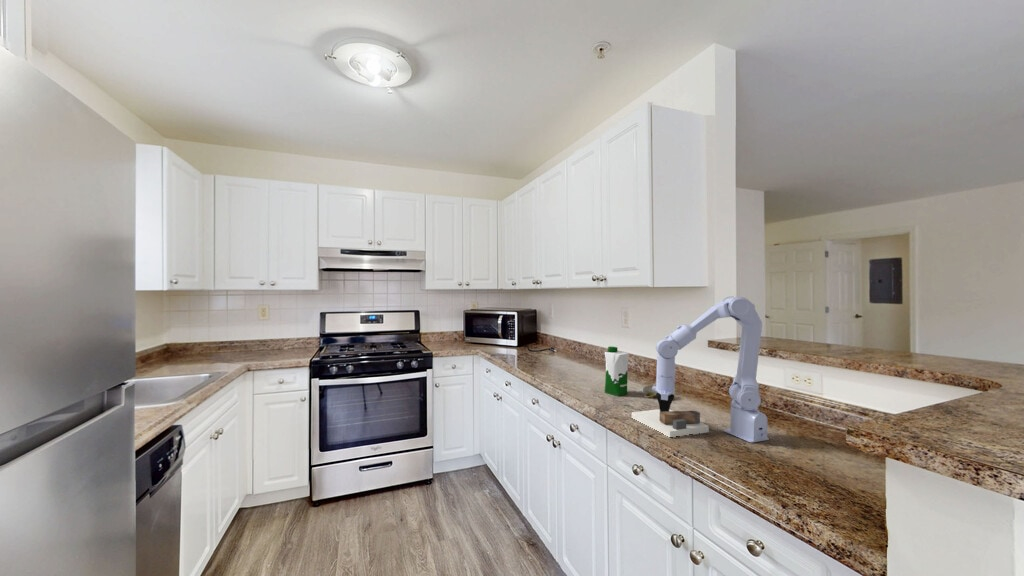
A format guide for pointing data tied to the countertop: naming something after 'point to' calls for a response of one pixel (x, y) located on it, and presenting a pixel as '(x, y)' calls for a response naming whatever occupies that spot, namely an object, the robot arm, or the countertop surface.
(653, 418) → the stool seat
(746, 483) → the countertop surface
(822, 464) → the countertop surface
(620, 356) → the milk carton
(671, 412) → the folding leg
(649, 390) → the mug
